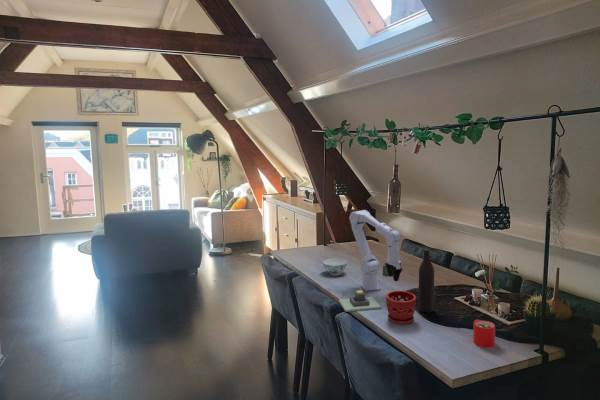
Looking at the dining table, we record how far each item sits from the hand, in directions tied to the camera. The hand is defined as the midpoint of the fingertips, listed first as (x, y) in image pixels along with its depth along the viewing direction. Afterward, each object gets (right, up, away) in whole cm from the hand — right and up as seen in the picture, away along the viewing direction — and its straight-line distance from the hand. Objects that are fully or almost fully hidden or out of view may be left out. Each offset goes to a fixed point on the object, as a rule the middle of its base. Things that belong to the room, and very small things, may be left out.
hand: (393, 278), depth 219 cm
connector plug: (-19, -10, -10) cm, 24 cm away
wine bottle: (+12, -12, -19) cm, 25 cm away
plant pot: (-3, -14, -29) cm, 33 cm away
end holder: (-19, -11, -10) cm, 24 cm away
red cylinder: (+24, -16, -50) cm, 58 cm away
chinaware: (-27, -5, +41) cm, 50 cm away
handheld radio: (+10, -4, +45) cm, 46 cm away
